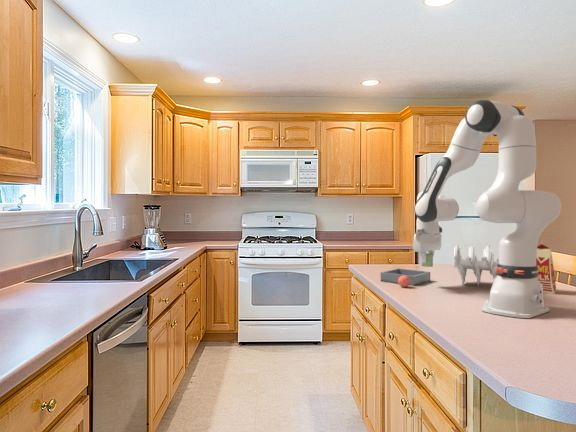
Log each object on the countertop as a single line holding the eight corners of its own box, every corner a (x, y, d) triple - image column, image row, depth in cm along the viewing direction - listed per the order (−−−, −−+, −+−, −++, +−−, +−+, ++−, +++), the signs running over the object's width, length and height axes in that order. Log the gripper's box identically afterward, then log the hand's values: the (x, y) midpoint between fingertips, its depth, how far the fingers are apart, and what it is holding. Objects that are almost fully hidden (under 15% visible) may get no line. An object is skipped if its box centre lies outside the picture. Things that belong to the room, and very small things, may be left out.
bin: (414, 285, 176) (414, 276, 176) (380, 281, 187) (380, 272, 187) (430, 280, 187) (430, 271, 187) (398, 276, 198) (398, 268, 198)
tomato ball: (406, 288, 170) (406, 276, 170) (395, 287, 173) (396, 275, 173) (412, 286, 174) (412, 275, 173) (401, 285, 177) (401, 274, 177)
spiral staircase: (518, 299, 168) (452, 292, 177) (512, 274, 183) (452, 268, 191) (525, 261, 160) (455, 255, 168) (519, 238, 175) (455, 234, 183)
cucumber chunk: (430, 267, 172) (430, 254, 172) (420, 266, 175) (420, 253, 175) (434, 266, 175) (434, 253, 175) (424, 265, 178) (424, 253, 178)
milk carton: (554, 294, 159) (555, 242, 158) (526, 291, 165) (527, 240, 164) (556, 290, 166) (557, 240, 166) (530, 287, 172) (530, 239, 171)
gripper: (423, 229, 165) (424, 264, 165) (444, 228, 180) (444, 260, 180) (409, 229, 169) (409, 263, 169) (430, 228, 185) (430, 259, 184)
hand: (427, 261), depth 175 cm, fingers closed on cucumber chunk, 4 cm apart
